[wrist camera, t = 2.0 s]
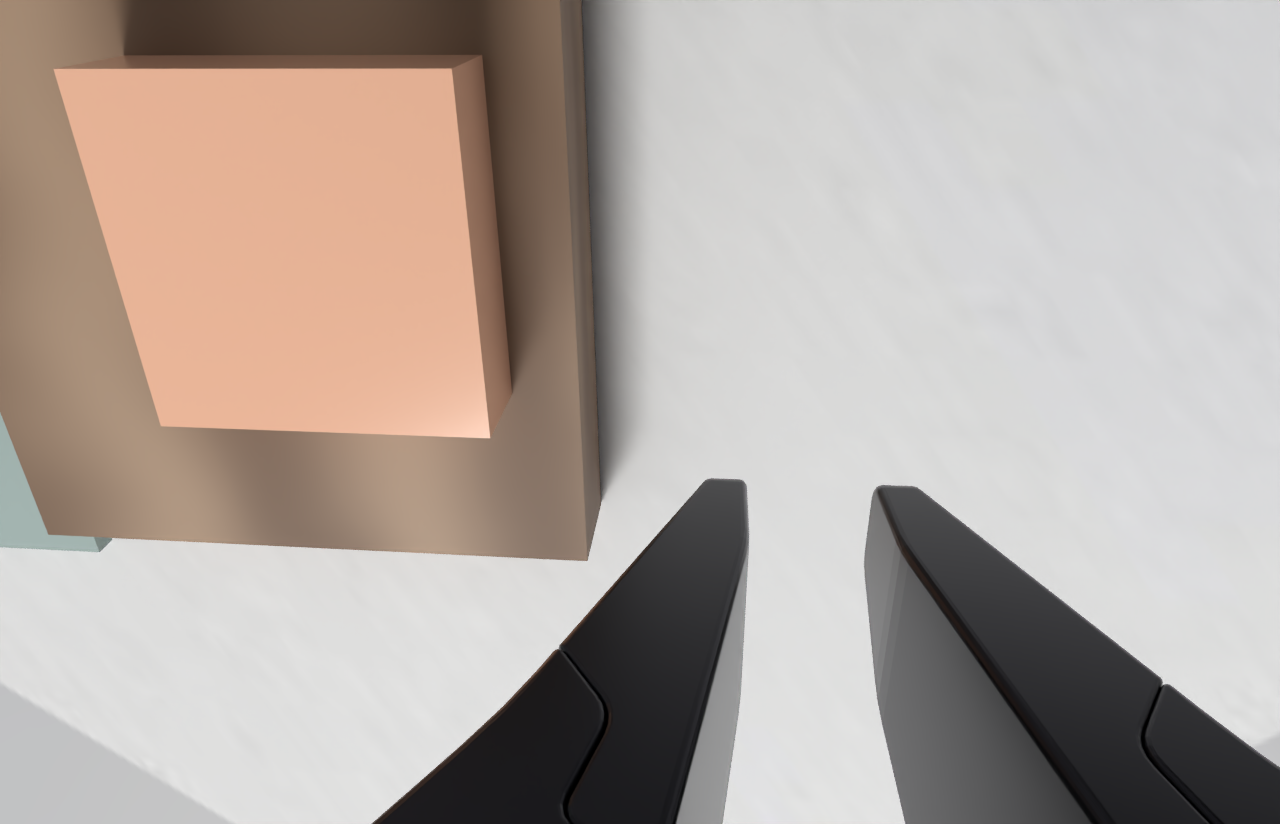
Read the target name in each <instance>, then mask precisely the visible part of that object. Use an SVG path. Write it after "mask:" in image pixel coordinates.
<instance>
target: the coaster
mask: <svg viewBox="0 0 1280 824" xmlns="http://www.w3.org/2000/svg"><path fill="white" fill-rule="evenodd" d="M54 73H55V76H56V79H57V83H58V86H59V89H60V93H61V96H62V99H63V102H64V106H65V109H66V112H67V116H68V119H69V122H70V126H71V129H72V132H73V136H74V139H75V142H76V146H77V149H78V152H79V156H80V159H81V162H82V166H83V169H84V172H85V176H86V179H87V182H88V186H89V189H90V192H91V196H92V199H93V202H94V206H95V209H96V212H97V216H98V219H99V222H100V226H101V229H102V232H103V236H104V239H105V242H106V245H107V249H108V252H109V255H110V259H111V262H112V265H113V269H114V272H115V275H116V279H117V282H118V285H119V289H120V292H121V295H122V299H123V302H124V305H125V309H126V312H127V315H128V319H129V322H130V325H131V329H132V332H133V335H134V339H135V342H136V345H137V349H138V352H139V355H140V359H141V362H142V365H143V369H144V372H145V375H146V378H147V382H148V385H149V388H150V392H151V395H152V398H153V402H154V405H155V408H156V412H157V415H158V418H159V422H160V425H161V426H167V427H194V428H222V429H249V430H276V431H303V432H330V433H358V434H385V435H412V436H439V437H467V438H491V436H492V434H493V432H494V430H495V428H496V426H497V424H498V422H499V420H500V418H501V416H502V413H503V411H504V409H505V407H506V405H507V403H508V401H509V399H510V397H511V395H512V387H511V375H510V364H509V353H508V341H507V330H506V319H505V307H504V296H503V285H502V274H501V262H500V251H499V240H498V228H497V217H496V206H495V195H494V183H493V172H492V161H491V149H490V138H489V127H488V115H487V104H486V93H485V82H484V70H483V59H482V55H124V56H118V57H113V58H108V59H103V60H97V61H92V62H87V63H82V64H76V65H71V66H66V67H61V68H55V69H54Z"/></svg>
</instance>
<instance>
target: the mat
mask: <svg viewBox="0 0 1280 824" xmlns="http://www.w3.org/2000/svg"><path fill="white" fill-rule="evenodd" d="M111 540H112V538H105V537H85V536H64V535H48V533H47V530H46V528H45V525H44V522H43V520H42V517H41V515H40V512H39V510H38V507H37V505H36V502H35V500H34V497H33V494H32V492H31V489H30V487H29V484H28V482H27V479H26V477H25V474H24V472H23V469H22V467H21V464H20V461H19V459H18V456H17V454H16V451H15V449H14V446H13V444H12V441H11V439H10V436H9V434H8V431H7V428H6V426H5V423H4V421H3V418H2V416H1V413H0V547H8V548H27V549H47V550H67V551H87V552H100V551H101V550H102V549H103V548H104V547H105V546H106V545H107V544H108V543H109V542H110V541H111Z"/></svg>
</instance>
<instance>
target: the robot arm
mask: <svg viewBox="0 0 1280 824" xmlns="http://www.w3.org/2000/svg"><path fill="white" fill-rule="evenodd" d="M748 551H749V523H748V503H747V486H746V484H745V482H744V481H742V480H739V479H714V478H711V479H707V480H705V481H704V482H703V483H702V485H701V486H700V487H699V488H698V489H697V490H696V491H695V493H694V494H693V495H692V496H691V497H690V498H689V499H688V500H687V502H686V503H685V504H684V505H683V506H682V507H681V508H680V510H679V511H678V512H677V513H676V514H675V515H674V516H673V517H672V519H671V520H670V521H669V522H668V523H667V524H666V525H665V527H664V528H663V529H662V530H661V531H660V532H659V533H658V534H657V536H656V537H655V538H654V539H653V540H652V541H651V542H650V544H649V545H648V546H647V547H646V548H645V549H644V550H643V551H642V553H641V554H640V555H639V556H638V557H637V558H636V559H635V561H634V562H633V563H632V564H631V565H630V566H629V567H628V568H627V570H626V571H625V572H624V573H623V574H622V575H621V576H620V578H619V579H618V580H617V581H616V582H615V583H614V584H613V586H612V587H611V588H610V589H609V590H608V591H607V592H606V593H605V595H604V596H603V597H602V598H601V599H600V600H599V601H598V603H597V604H596V605H595V606H594V607H593V608H592V609H591V610H590V612H589V613H588V614H587V615H586V616H585V617H584V618H583V620H582V621H581V622H580V623H579V624H578V625H577V626H576V627H575V629H574V630H573V631H572V632H571V633H570V634H569V635H568V637H567V638H566V639H565V640H564V641H563V642H562V643H561V644H560V646H559V649H557V650H555V651H554V652H553V653H552V654H551V655H550V656H549V657H548V659H547V660H546V661H545V662H544V663H543V664H542V665H541V667H540V668H539V669H538V670H537V671H536V672H535V673H534V674H533V675H532V676H531V678H530V679H529V680H528V681H527V682H526V683H525V684H524V685H523V686H522V687H521V688H520V689H519V690H518V691H517V692H516V693H515V694H514V695H513V697H512V698H511V699H510V700H509V701H508V702H507V703H506V704H505V705H504V706H503V707H502V708H501V709H500V710H499V711H498V712H497V713H496V714H495V715H493V716H492V717H491V718H490V719H489V720H488V721H487V722H486V723H485V724H484V725H483V726H482V727H481V728H479V729H478V730H477V731H476V732H475V733H474V734H473V735H472V736H471V737H470V738H469V739H468V740H466V741H465V742H464V743H463V744H462V745H461V746H460V747H459V748H458V749H457V750H455V751H454V752H453V753H452V754H451V755H450V756H449V757H447V758H446V759H445V760H444V761H443V762H442V763H441V764H439V765H438V766H437V767H436V768H435V769H434V770H433V771H431V772H430V773H429V774H428V775H427V776H426V777H425V778H423V779H422V780H421V781H420V782H419V783H418V784H417V785H415V786H414V787H413V788H412V789H411V790H410V791H409V792H407V793H406V794H405V795H404V796H403V797H402V798H401V799H399V800H398V801H397V802H396V803H395V804H394V805H393V806H391V807H390V808H389V809H388V810H387V811H386V812H385V813H383V814H382V815H381V816H380V817H379V818H378V819H377V820H375V821H374V822H373V823H372V824H722V823H723V816H724V809H725V802H726V795H727V788H728V781H729V775H730V768H731V761H732V754H733V747H734V740H735V734H736V727H737V720H738V713H739V704H740V695H741V678H742V660H743V642H744V624H745V605H746V587H747V569H748ZM864 569H865V582H866V592H867V603H868V613H869V623H870V633H871V643H872V654H873V664H874V674H875V683H876V691H877V699H878V705H879V710H880V715H881V720H882V725H883V730H884V734H885V738H886V742H887V747H888V751H889V755H890V760H891V764H892V768H893V773H894V777H895V781H896V785H897V790H898V794H899V798H900V803H901V807H902V811H903V816H904V820H905V824H1280V767H1278V766H1277V765H1276V764H1274V763H1273V762H1271V761H1270V760H1268V759H1267V758H1266V757H1264V756H1263V755H1261V754H1260V753H1258V752H1257V751H1256V750H1255V749H1253V748H1252V747H1251V746H1249V745H1248V744H1247V743H1245V742H1244V741H1243V740H1241V739H1240V738H1239V737H1237V736H1236V735H1235V734H1233V733H1232V732H1231V731H1229V730H1228V729H1227V728H1225V727H1224V726H1223V725H1221V724H1220V723H1219V722H1217V721H1216V720H1215V719H1213V718H1212V717H1211V716H1209V715H1208V714H1207V713H1205V712H1204V711H1203V710H1202V709H1200V708H1199V707H1198V706H1196V705H1195V704H1194V703H1193V702H1191V701H1190V700H1189V699H1188V698H1186V697H1185V696H1184V695H1182V694H1181V693H1180V692H1179V691H1177V690H1176V689H1175V688H1173V687H1172V686H1171V685H1169V684H1165V685H1163V686H1162V683H1163V682H1162V679H1161V678H1160V677H1159V676H1158V675H1156V674H1155V673H1154V672H1153V671H1151V670H1150V669H1149V668H1147V667H1146V666H1145V665H1144V664H1142V663H1141V662H1140V661H1138V660H1137V659H1136V658H1135V657H1133V656H1132V655H1131V654H1130V653H1128V652H1127V651H1126V650H1124V649H1123V648H1122V647H1121V646H1119V645H1118V644H1117V643H1116V642H1114V641H1113V640H1112V639H1110V638H1109V637H1108V636H1107V635H1105V634H1104V633H1103V632H1101V631H1100V630H1099V629H1098V628H1096V627H1095V626H1094V625H1093V624H1091V623H1090V622H1089V621H1087V620H1086V619H1085V618H1084V617H1082V616H1081V615H1080V614H1078V613H1077V612H1076V611H1075V610H1073V609H1072V608H1071V607H1070V606H1068V605H1067V604H1066V603H1064V602H1063V601H1062V600H1061V599H1059V598H1058V597H1057V596H1055V595H1054V594H1053V593H1052V592H1050V591H1049V590H1048V589H1047V588H1045V587H1044V586H1043V585H1041V584H1040V583H1039V582H1038V581H1036V580H1035V579H1034V578H1032V577H1031V576H1030V575H1029V574H1027V573H1026V572H1025V571H1024V570H1022V569H1021V568H1020V567H1018V566H1017V565H1016V564H1015V563H1013V562H1012V561H1011V560H1009V559H1008V558H1007V557H1006V556H1004V555H1003V554H1002V553H1001V552H999V551H998V550H997V549H995V548H994V547H993V546H992V545H990V544H989V543H988V542H986V541H985V540H984V539H983V538H981V537H980V536H979V535H978V534H976V533H975V532H974V531H972V530H971V529H970V528H969V527H967V526H966V525H965V524H964V523H962V522H961V521H960V520H958V519H957V518H956V517H955V516H953V515H952V514H951V513H949V512H948V511H947V510H946V509H944V508H943V507H942V506H941V505H939V504H938V503H937V502H935V501H934V500H933V499H932V498H930V497H929V496H928V495H926V494H925V493H924V492H923V491H921V490H920V489H918V488H917V487H913V486H891V485H881V486H878V487H876V489H875V491H874V492H873V496H872V502H871V509H870V517H869V525H868V532H867V540H866V548H865V559H864Z"/></svg>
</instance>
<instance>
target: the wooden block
mask: <svg viewBox="0 0 1280 824" xmlns="http://www.w3.org/2000/svg"><path fill="white" fill-rule="evenodd" d="M124 55H482V59H483V70H484V82H485V93H486V104H487V115H488V127H489V138H490V149H491V161H492V172H493V183H494V195H495V206H496V217H497V228H498V240H499V251H500V262H501V274H502V285H503V296H504V307H505V319H506V330H507V341H508V353H509V364H510V375H511V387H512V395H511V397H510V399H509V401H508V403H507V405H506V407H505V409H504V411H503V413H502V416H501V418H500V420H499V422H498V424H497V426H496V428H495V430H494V432H493V434H492V436H491V438H467V437H439V436H412V435H385V434H358V433H330V432H303V431H276V430H249V429H222V428H194V427H167V426H161V425H160V422H159V418H158V415H157V412H156V408H155V405H154V402H153V398H152V395H151V392H150V388H149V385H148V382H147V378H146V375H145V372H144V369H143V365H142V362H141V359H140V355H139V352H138V349H137V345H136V342H135V339H134V335H133V332H132V329H131V325H130V322H129V319H128V315H127V312H126V309H125V305H124V302H123V299H122V295H121V292H120V289H119V285H118V282H117V279H116V275H115V272H114V269H113V265H112V262H111V259H110V255H109V252H108V249H107V245H106V242H105V239H104V236H103V232H102V229H101V226H100V222H99V219H98V216H97V212H96V209H95V206H94V202H93V199H92V196H91V192H90V189H89V186H88V182H87V179H86V176H85V172H84V169H83V166H82V162H81V159H80V156H79V152H78V149H77V146H76V142H75V139H74V136H73V132H72V129H71V126H70V122H69V119H68V116H67V112H66V109H65V106H64V102H63V99H62V96H61V93H60V89H59V86H58V83H57V79H56V76H55V73H54V69H55V68H61V67H66V66H71V65H76V64H82V63H87V62H92V61H97V60H103V59H108V58H113V57H118V56H124ZM0 413H1V416H2V418H3V421H4V423H5V426H6V428H7V431H8V434H9V436H10V439H11V441H12V444H13V446H14V449H15V451H16V454H17V456H18V459H19V461H20V464H21V467H22V469H23V472H24V474H25V477H26V479H27V482H28V484H29V487H30V489H31V492H32V494H33V497H34V500H35V502H36V505H37V507H38V510H39V512H40V515H41V517H42V520H43V522H44V525H45V528H46V530H47V533H48V535H64V536H85V537H105V538H126V539H146V540H167V541H187V542H208V543H228V544H249V545H269V546H290V547H310V548H331V549H352V550H372V551H393V552H413V553H434V554H454V555H475V556H495V557H516V558H536V559H557V560H577V561H587V560H588V556H589V552H590V548H591V544H592V539H593V535H594V531H595V527H596V523H597V518H598V514H599V510H600V506H601V492H600V466H599V440H598V414H597V389H596V363H595V337H594V311H593V286H592V260H591V234H590V208H589V183H588V157H587V131H586V105H585V79H584V54H583V28H582V2H581V0H0Z"/></svg>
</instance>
